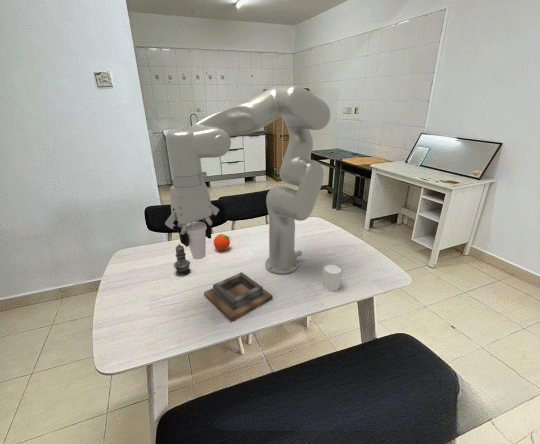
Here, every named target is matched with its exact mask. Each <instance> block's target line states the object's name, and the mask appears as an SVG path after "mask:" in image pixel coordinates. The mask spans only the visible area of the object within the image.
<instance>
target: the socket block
mask: <svg viewBox="0 0 540 444" xmlns="http://www.w3.org/2000/svg"><path fill="white" fill-rule="evenodd" d="M203 296H204V297H205V298H206V299H207V300H208V301H209V302H210V303H211V304H212V305H213V306H214V307H215V308H217V310H218V311H219V312H220V313H222V314H223V315H224V317H225V318H227V320H229V321H230V322H231V323H232V321H233V322H234V321H236V320H238V319H240V318H241V317H243V316H245V315H247V314H249V313H251V312H252V311H254V310H256V309H258V308H260V307H261V306H263V305H265V304H267V303H269V302H270V301H272V300H273V298H274V297H273V296H274V295H273V294H272V293H270V292H269V291H267V289H265V288H264V287H263V286H262V285H261V284H259V283H257V282H256V281H255V280H253V279H252V278H251V277H249V276H248V275H246V274H245V273H244V272H243V271H241V272H239V273H237V274H235V275H231V276H230V277H228V278H226V279H224V280H221V281H219V282H216V283H214V284H212V288H210V289H208V290H206V291H204V292H203Z"/></svg>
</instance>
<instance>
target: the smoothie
mask: <svg viewBox="0 0 540 444" xmlns="http://www.w3.org/2000/svg"><path fill="white" fill-rule="evenodd" d="M206 229H207V227H206V224H205V223H204V221H195V222H192V223H188V224H187V227H186V231H185V233H187V235H188V241H189V246H188V247H189V249H190V253H191V256H192V258H193V259H194V260H202V259H203V258H205V257H206V247H207V246H206V238H207V237H206Z"/></svg>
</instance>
